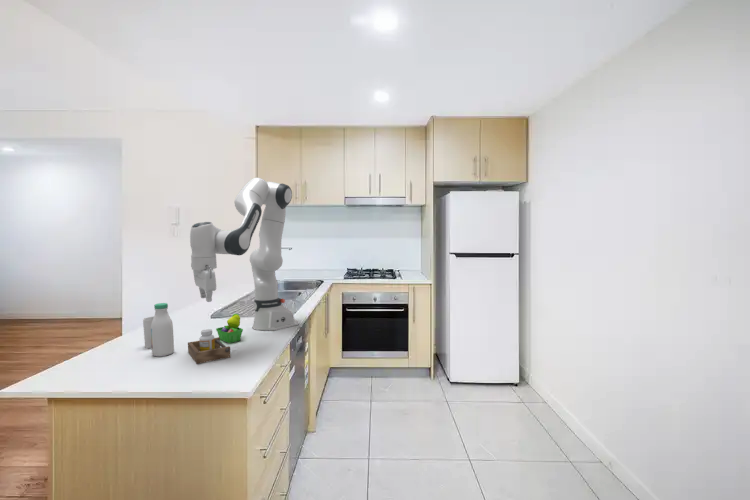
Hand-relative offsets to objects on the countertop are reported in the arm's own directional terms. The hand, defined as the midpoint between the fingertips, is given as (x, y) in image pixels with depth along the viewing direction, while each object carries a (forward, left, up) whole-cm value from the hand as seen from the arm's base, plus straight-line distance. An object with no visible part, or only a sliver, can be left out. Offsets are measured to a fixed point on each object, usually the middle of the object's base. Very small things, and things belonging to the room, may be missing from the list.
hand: (206, 299), depth 151 cm
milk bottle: (+14, -12, -22) cm, 29 cm away
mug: (+15, -27, -22) cm, 38 cm away
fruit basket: (-13, -15, -22) cm, 30 cm away
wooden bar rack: (0, 0, -22) cm, 22 cm away
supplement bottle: (0, 0, -22) cm, 22 cm away
